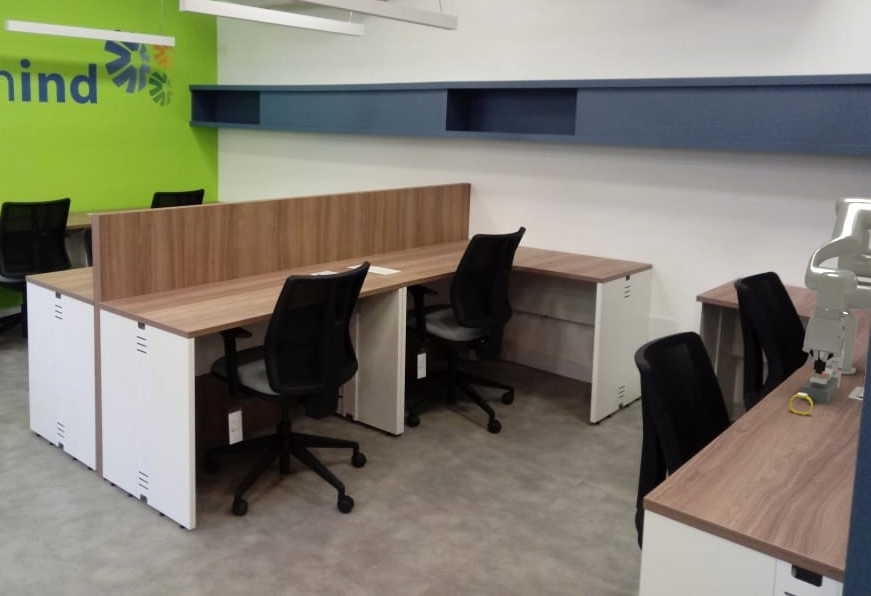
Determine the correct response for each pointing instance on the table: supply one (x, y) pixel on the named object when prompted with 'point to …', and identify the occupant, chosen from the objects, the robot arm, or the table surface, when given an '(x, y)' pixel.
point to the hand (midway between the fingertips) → (818, 372)
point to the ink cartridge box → (835, 365)
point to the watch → (802, 397)
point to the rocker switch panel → (820, 390)
